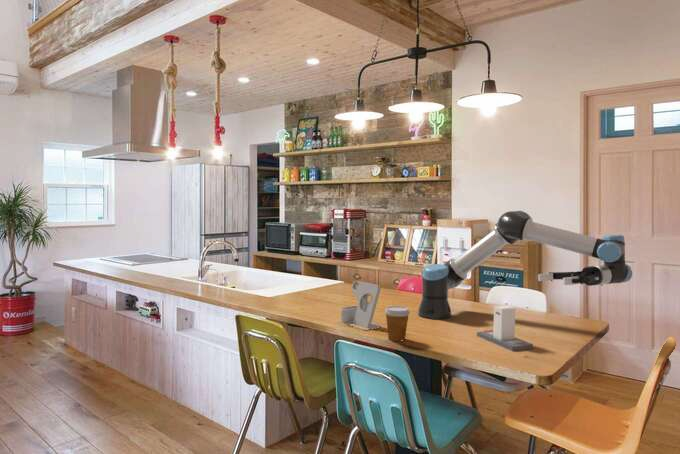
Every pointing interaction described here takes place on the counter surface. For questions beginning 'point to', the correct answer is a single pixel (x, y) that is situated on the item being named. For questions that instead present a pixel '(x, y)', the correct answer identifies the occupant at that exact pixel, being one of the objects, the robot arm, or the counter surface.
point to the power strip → (505, 341)
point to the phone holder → (362, 306)
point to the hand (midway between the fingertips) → (550, 279)
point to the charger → (504, 322)
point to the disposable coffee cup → (396, 322)
